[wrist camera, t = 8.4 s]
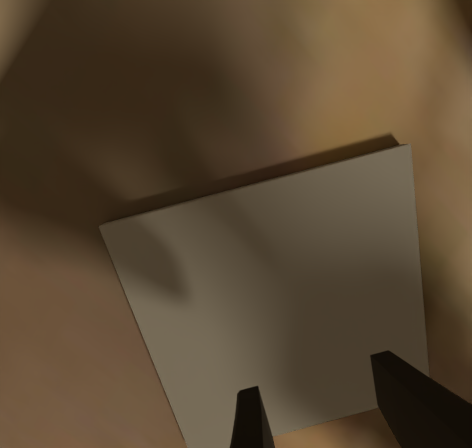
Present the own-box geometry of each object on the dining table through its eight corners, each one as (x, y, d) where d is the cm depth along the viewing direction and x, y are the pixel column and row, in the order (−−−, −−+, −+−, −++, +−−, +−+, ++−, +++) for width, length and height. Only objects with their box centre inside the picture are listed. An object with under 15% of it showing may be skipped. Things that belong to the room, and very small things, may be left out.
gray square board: (422, 384, 14) (430, 393, 14) (193, 446, 14) (192, 458, 14) (400, 144, 11) (410, 143, 11) (104, 223, 11) (98, 226, 10)
